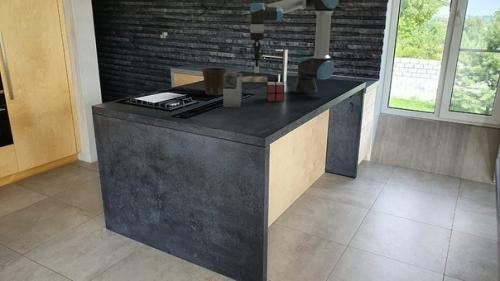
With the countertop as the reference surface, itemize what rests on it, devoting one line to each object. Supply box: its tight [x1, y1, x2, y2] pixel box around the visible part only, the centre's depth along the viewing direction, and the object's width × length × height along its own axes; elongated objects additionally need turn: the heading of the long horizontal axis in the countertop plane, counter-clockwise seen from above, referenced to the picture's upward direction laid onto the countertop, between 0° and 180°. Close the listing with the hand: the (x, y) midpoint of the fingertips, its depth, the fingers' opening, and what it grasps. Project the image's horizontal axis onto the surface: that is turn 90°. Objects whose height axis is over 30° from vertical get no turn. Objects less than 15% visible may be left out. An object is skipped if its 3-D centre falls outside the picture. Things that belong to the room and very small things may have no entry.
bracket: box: [222, 72, 243, 108], centre depth 227 cm, size 10×19×16 cm, turn 179°
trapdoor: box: [223, 72, 268, 86], centre depth 226 cm, size 24×16×6 cm, turn 89°
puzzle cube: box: [266, 81, 285, 102], centre depth 238 cm, size 10×10×10 cm
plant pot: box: [201, 67, 228, 96], centre depth 254 cm, size 16×16×16 cm
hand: (256, 71), depth 224 cm, fingers open, 13 cm apart
